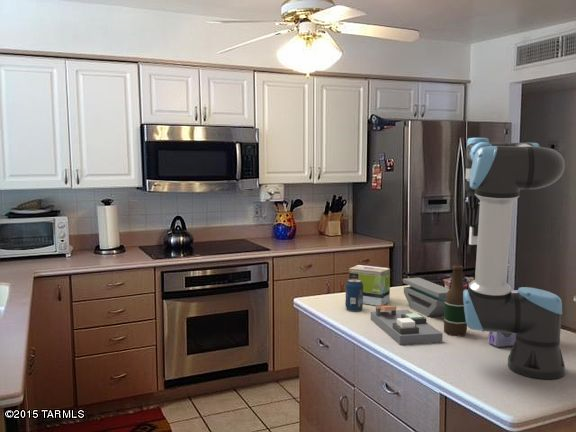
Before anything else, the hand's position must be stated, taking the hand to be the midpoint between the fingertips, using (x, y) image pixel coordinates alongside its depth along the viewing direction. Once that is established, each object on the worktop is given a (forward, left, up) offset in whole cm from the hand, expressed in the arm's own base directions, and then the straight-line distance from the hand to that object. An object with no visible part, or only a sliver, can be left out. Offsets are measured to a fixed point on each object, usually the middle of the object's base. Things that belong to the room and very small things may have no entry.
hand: (473, 244), depth 197 cm
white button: (-14, +32, -25) cm, 43 cm away
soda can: (+23, +38, -30) cm, 53 cm away
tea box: (+33, +28, -30) cm, 52 cm away
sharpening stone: (+15, +10, -30) cm, 35 cm away
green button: (-5, +25, -26) cm, 37 cm away
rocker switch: (+4, +32, -24) cm, 40 cm away
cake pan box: (-24, -3, -30) cm, 38 cm away
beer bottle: (-11, +12, -30) cm, 34 cm away
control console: (-5, +28, -29) cm, 41 cm away
